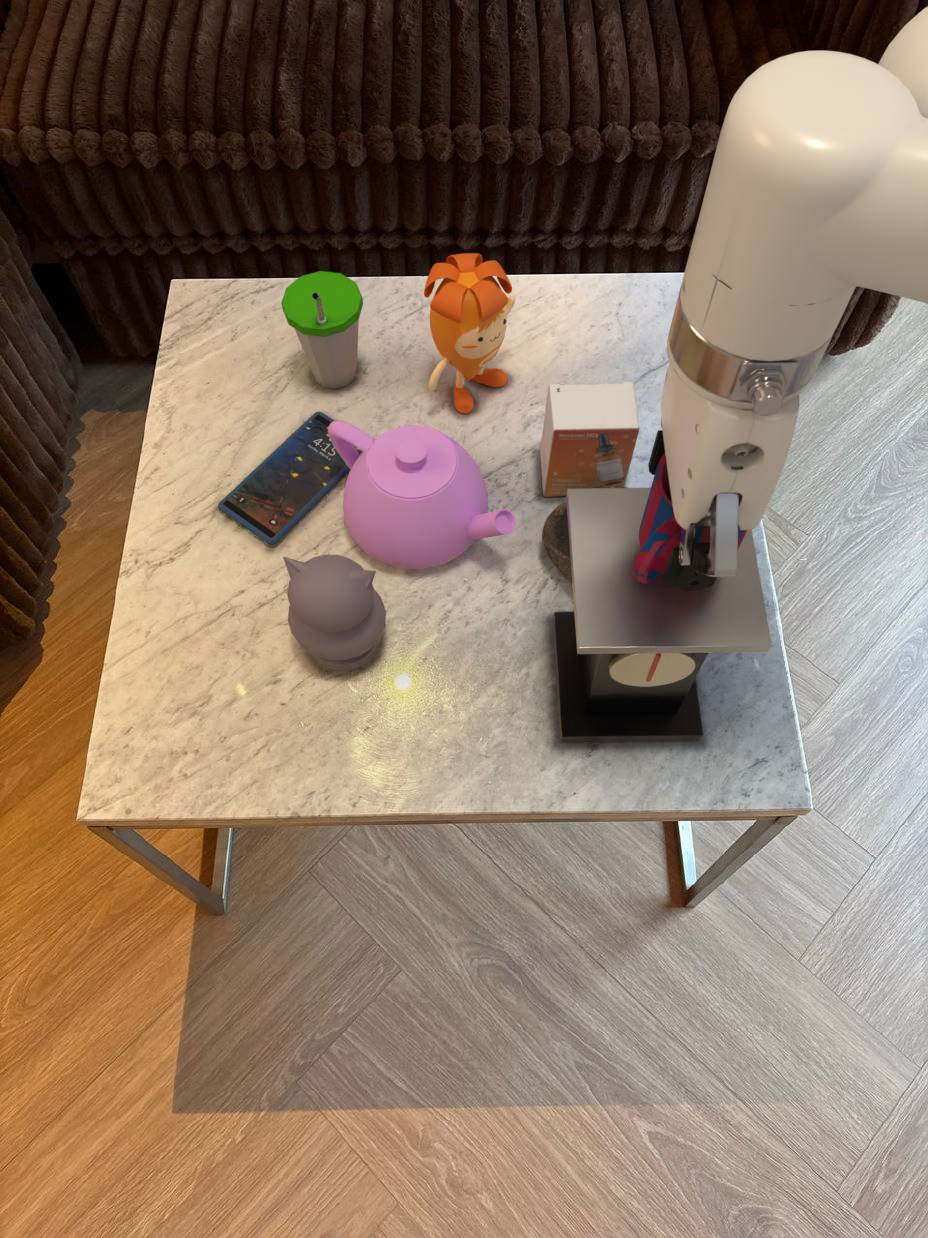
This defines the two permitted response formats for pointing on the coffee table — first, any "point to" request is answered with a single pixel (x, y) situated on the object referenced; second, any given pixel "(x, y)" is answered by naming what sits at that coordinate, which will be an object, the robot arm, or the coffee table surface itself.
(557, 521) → the stone
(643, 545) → the cup
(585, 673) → the scale
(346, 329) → the cup
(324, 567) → the cat figurine
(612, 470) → the small box
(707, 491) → the robot arm
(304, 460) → the smartphone
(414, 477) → the teapot
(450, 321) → the toy figure
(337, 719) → the coffee table surface
